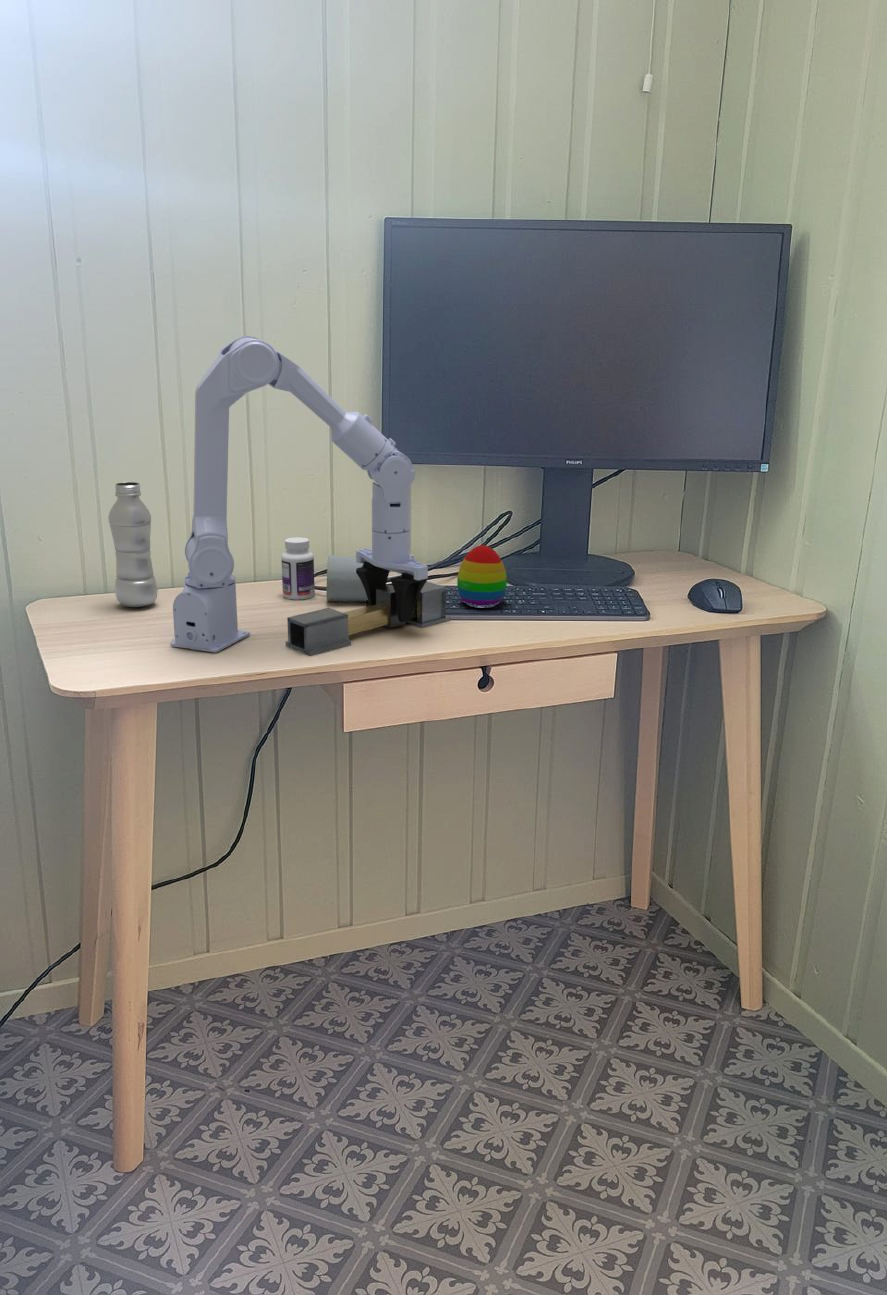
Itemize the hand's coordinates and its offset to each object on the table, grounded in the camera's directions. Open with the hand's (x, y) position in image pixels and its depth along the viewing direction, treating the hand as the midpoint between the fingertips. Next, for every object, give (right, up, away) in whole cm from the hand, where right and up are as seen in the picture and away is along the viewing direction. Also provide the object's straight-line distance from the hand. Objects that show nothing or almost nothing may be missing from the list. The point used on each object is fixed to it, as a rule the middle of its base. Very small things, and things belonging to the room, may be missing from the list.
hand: (391, 615), depth 168 cm
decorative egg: (+14, +2, +13) cm, 20 cm away
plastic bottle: (-42, +2, +9) cm, 43 cm away
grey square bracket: (+5, 0, +5) cm, 6 cm away
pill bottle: (-16, +4, +16) cm, 23 cm away
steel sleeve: (-10, -5, -9) cm, 14 cm away
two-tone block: (-2, -2, -1) cm, 2 cm away
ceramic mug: (-8, +3, +15) cm, 18 cm away
